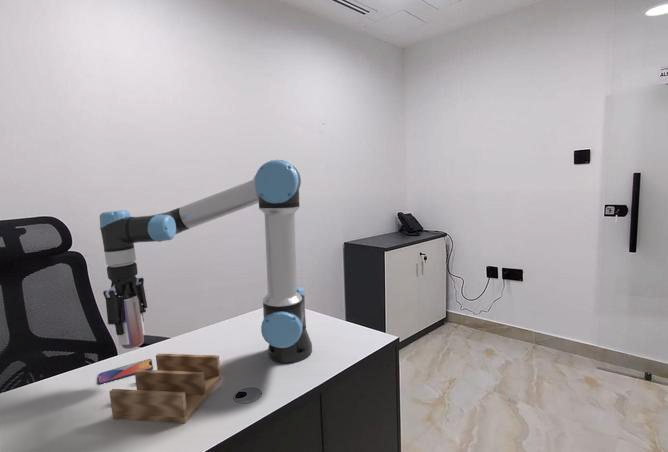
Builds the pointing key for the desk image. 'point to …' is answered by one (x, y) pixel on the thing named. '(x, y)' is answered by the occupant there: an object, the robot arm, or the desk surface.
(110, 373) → the smartphone
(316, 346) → the desk surface
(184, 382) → the rack
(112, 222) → the robot arm
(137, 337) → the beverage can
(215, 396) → the desk surface
